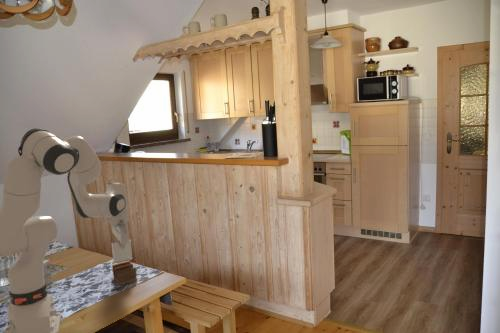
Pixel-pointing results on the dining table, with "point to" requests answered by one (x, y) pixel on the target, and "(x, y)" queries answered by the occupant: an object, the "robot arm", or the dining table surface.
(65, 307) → the dining table surface
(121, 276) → the walnut rack
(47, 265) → the light bulb box
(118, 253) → the aluminium panel
